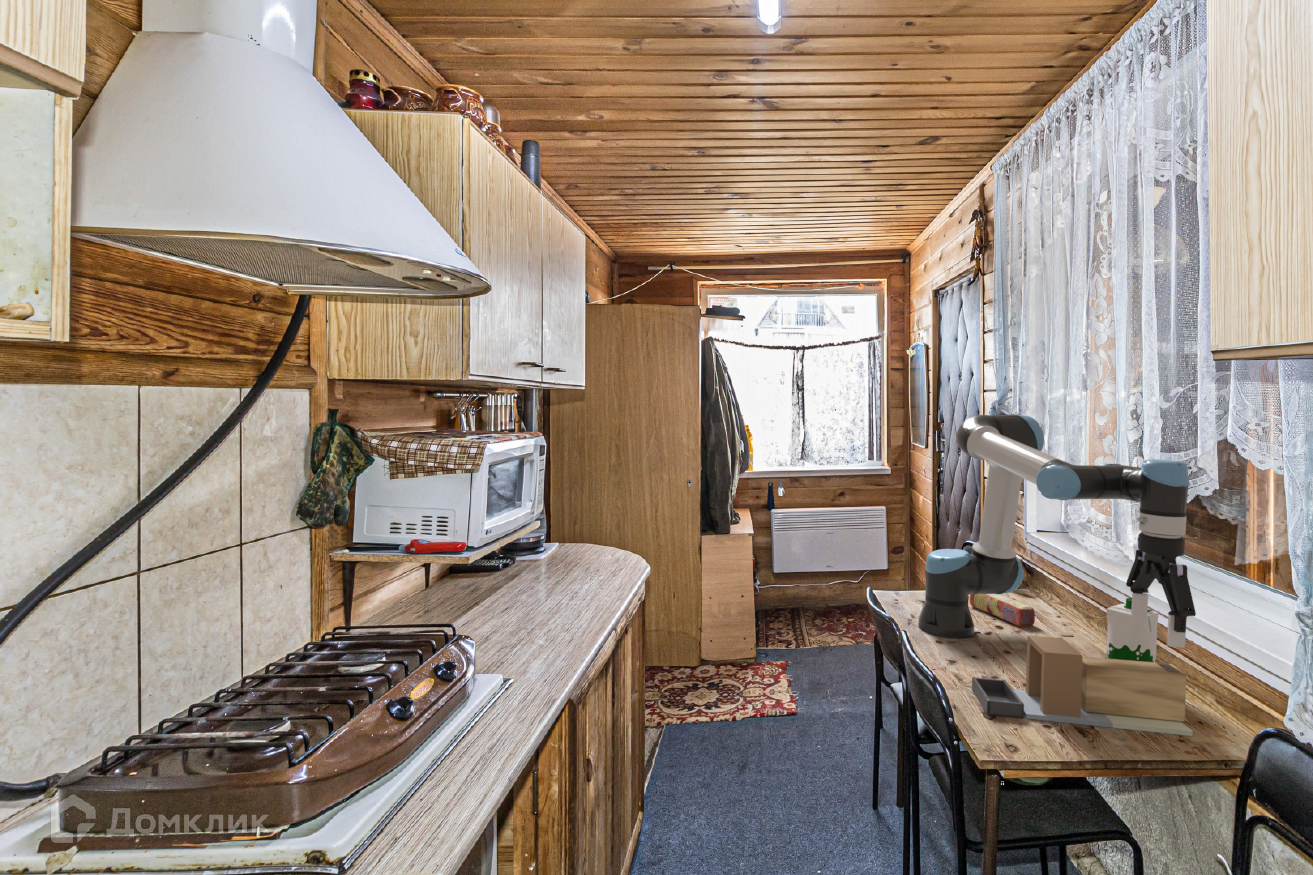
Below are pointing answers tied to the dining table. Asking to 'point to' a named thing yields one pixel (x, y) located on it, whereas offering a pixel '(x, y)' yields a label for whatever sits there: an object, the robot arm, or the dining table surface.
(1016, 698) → the tray
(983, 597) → the snack package
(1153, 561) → the robot arm
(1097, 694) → the block
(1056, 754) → the dining table surface
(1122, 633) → the milk carton
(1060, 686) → the board
